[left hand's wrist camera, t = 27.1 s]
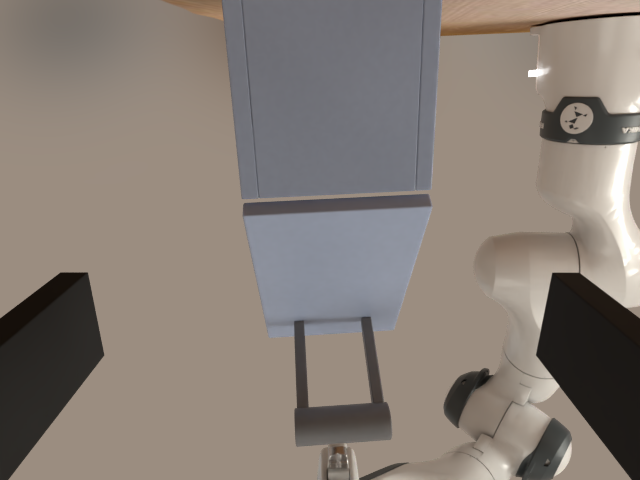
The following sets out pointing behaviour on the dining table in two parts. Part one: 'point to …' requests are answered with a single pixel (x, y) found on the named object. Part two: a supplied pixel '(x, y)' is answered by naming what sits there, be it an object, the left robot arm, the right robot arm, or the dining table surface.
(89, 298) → the left robot arm
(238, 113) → the chest
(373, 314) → the lid
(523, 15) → the dining table surface
